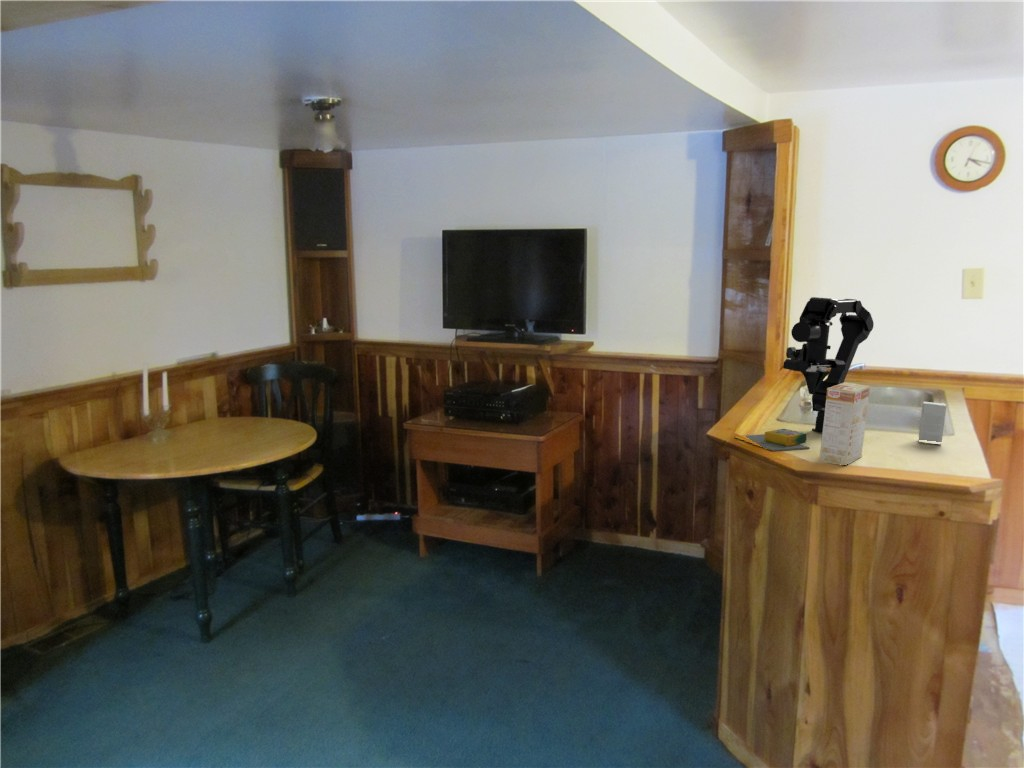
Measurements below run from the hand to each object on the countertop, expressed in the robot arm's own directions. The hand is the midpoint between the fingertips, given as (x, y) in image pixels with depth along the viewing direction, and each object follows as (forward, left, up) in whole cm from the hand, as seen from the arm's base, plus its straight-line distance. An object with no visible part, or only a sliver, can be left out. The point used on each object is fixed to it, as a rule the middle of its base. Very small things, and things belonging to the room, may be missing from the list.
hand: (811, 394), depth 226 cm
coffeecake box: (+10, +23, -13) cm, 28 cm away
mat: (+17, +4, -13) cm, 22 cm away
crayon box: (+9, +4, -11) cm, 15 cm away
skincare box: (-34, +14, -13) cm, 39 cm away
